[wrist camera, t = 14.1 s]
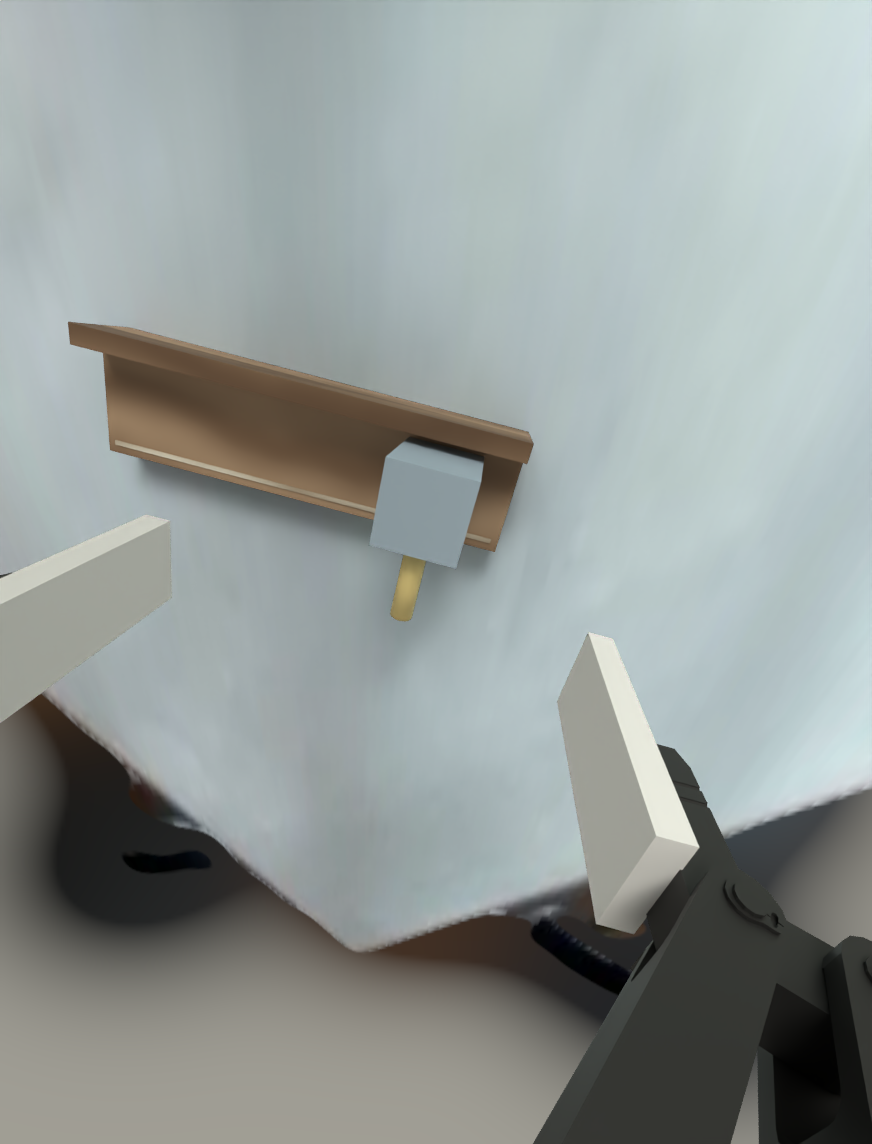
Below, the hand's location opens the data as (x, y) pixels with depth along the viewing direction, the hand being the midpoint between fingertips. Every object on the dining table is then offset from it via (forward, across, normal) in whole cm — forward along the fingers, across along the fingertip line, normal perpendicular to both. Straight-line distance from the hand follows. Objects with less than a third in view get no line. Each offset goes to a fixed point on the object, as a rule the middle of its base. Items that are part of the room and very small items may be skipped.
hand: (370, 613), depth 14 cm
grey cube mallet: (+18, 0, -3) cm, 18 cm away
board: (+21, -9, 0) cm, 22 cm away
